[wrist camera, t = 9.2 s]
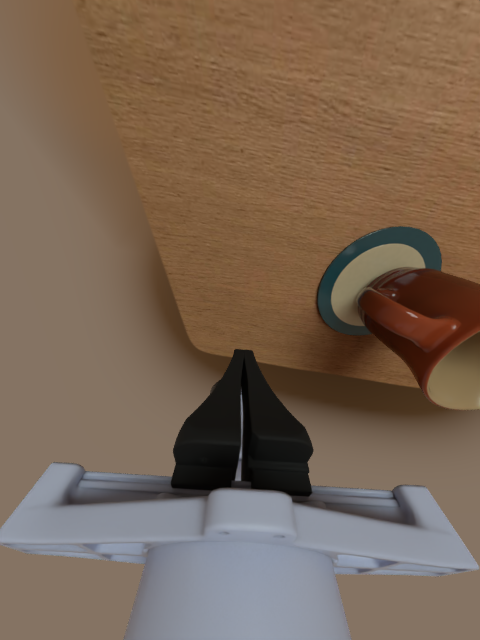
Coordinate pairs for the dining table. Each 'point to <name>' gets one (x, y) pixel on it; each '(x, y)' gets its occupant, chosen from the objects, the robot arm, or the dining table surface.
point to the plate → (370, 271)
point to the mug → (429, 330)
